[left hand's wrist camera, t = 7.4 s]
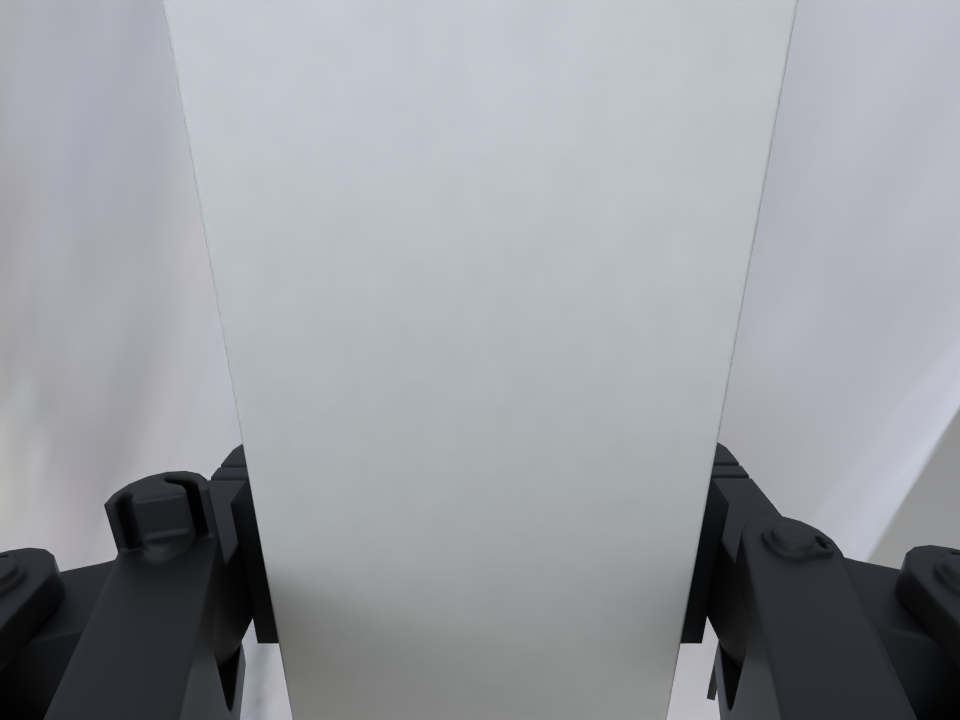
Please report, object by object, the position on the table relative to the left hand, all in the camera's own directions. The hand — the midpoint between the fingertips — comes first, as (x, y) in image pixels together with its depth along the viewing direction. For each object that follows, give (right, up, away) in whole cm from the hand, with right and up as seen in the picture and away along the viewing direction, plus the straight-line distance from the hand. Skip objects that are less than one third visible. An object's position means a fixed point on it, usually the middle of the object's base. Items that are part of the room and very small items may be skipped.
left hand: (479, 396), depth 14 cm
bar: (0, +22, -8) cm, 24 cm away
